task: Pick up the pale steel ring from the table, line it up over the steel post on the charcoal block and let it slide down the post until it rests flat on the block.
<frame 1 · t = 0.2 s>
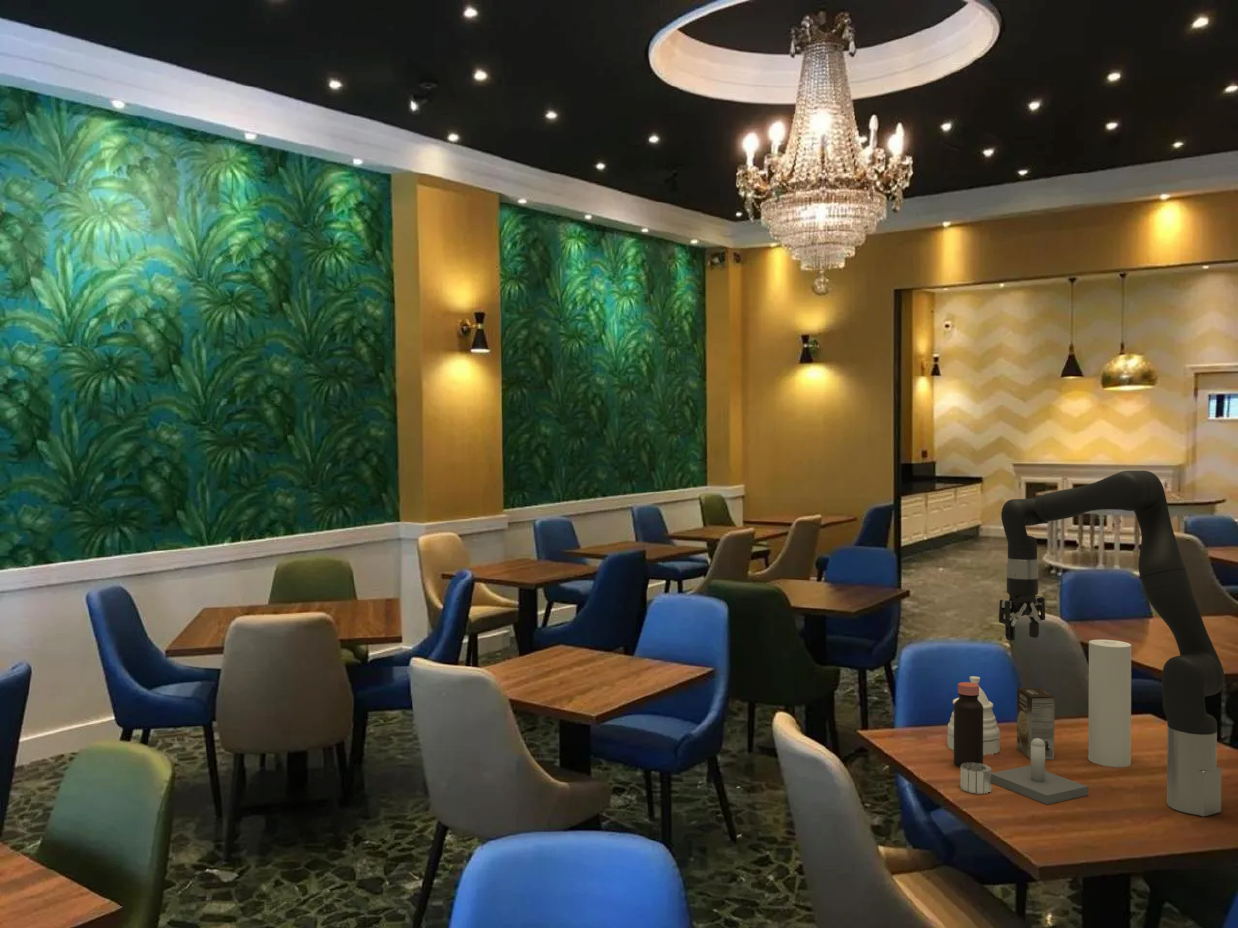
hand: (1022, 638, 246), 29 cm above the table, tool pointing down, fingers open, 8 cm apart
piston block: (1037, 788, 219), on the table
coffee box: (1035, 754, 243), on the table
honey pot: (973, 748, 249), on the table
ring: (975, 788, 218), on the table
bottle: (968, 765, 235), on the table
cylinder container: (1109, 761, 238), on the table
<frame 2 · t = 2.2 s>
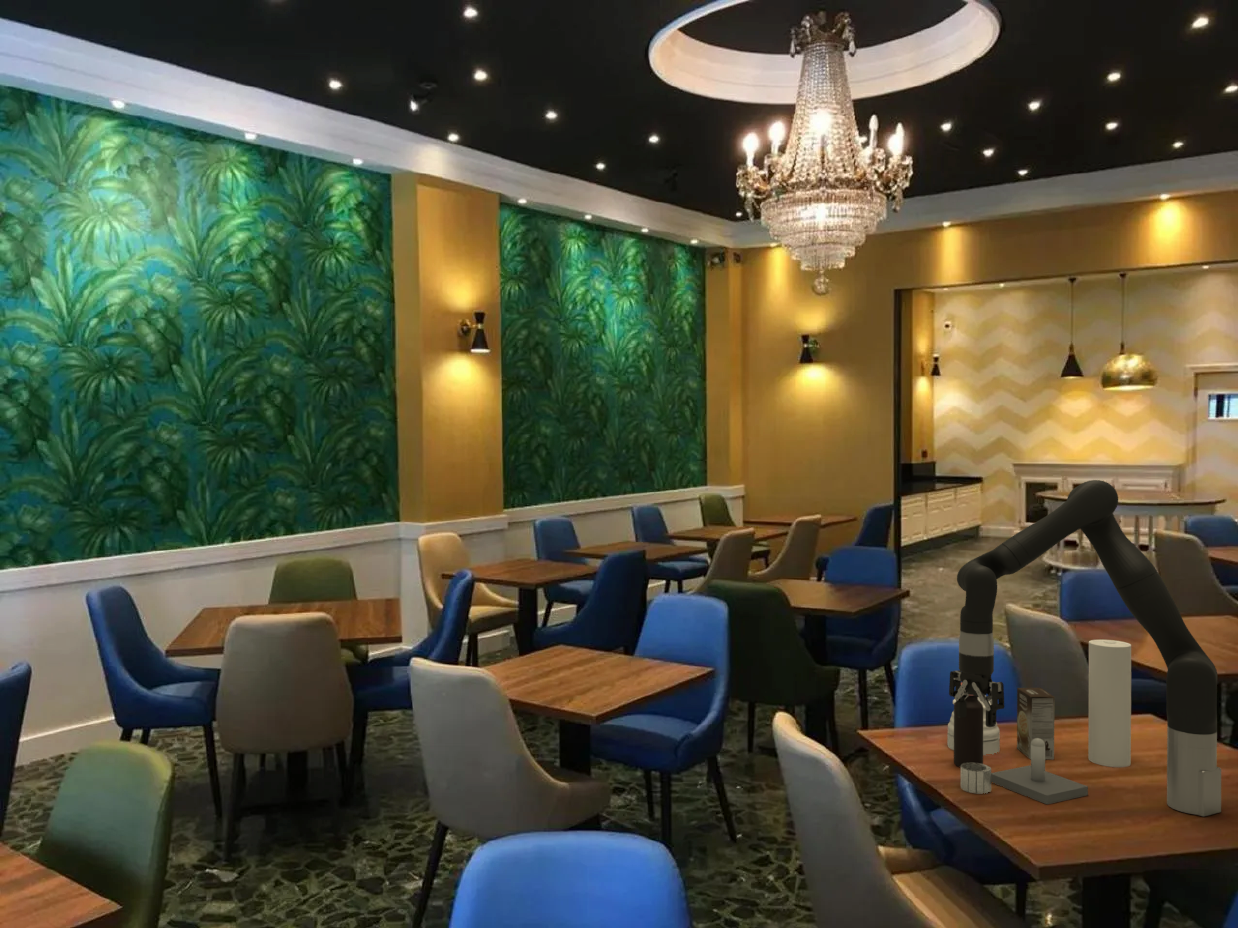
hand: (975, 721, 218), 15 cm above the table, tool pointing down, fingers open, 8 cm apart
nothing on the table moved.
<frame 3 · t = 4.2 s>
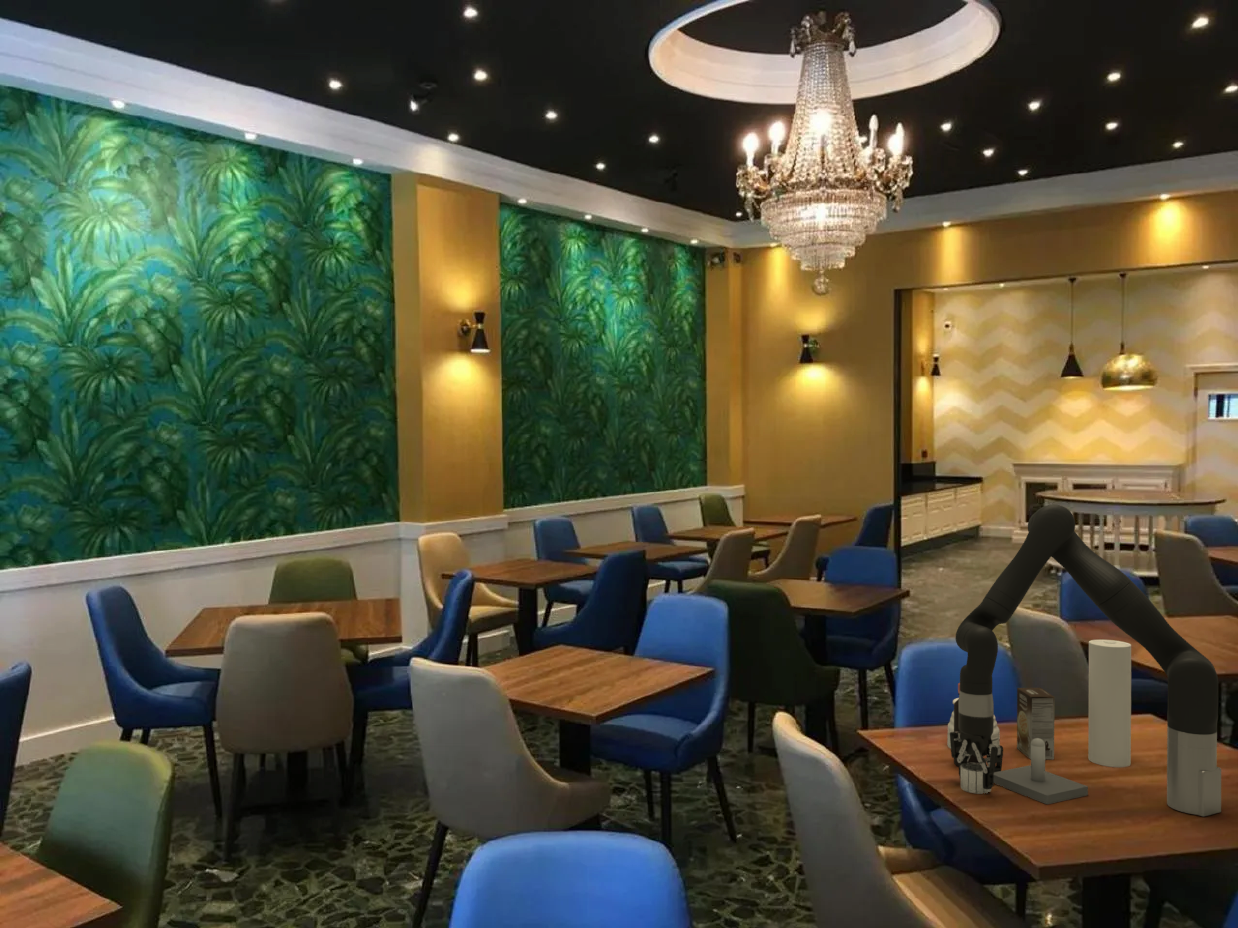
hand: (975, 783, 218), 1 cm above the table, tool pointing down, fingers closed on ring, 6 cm apart
ring: (975, 788, 218), on the table, touching gripper
everything else where it was.
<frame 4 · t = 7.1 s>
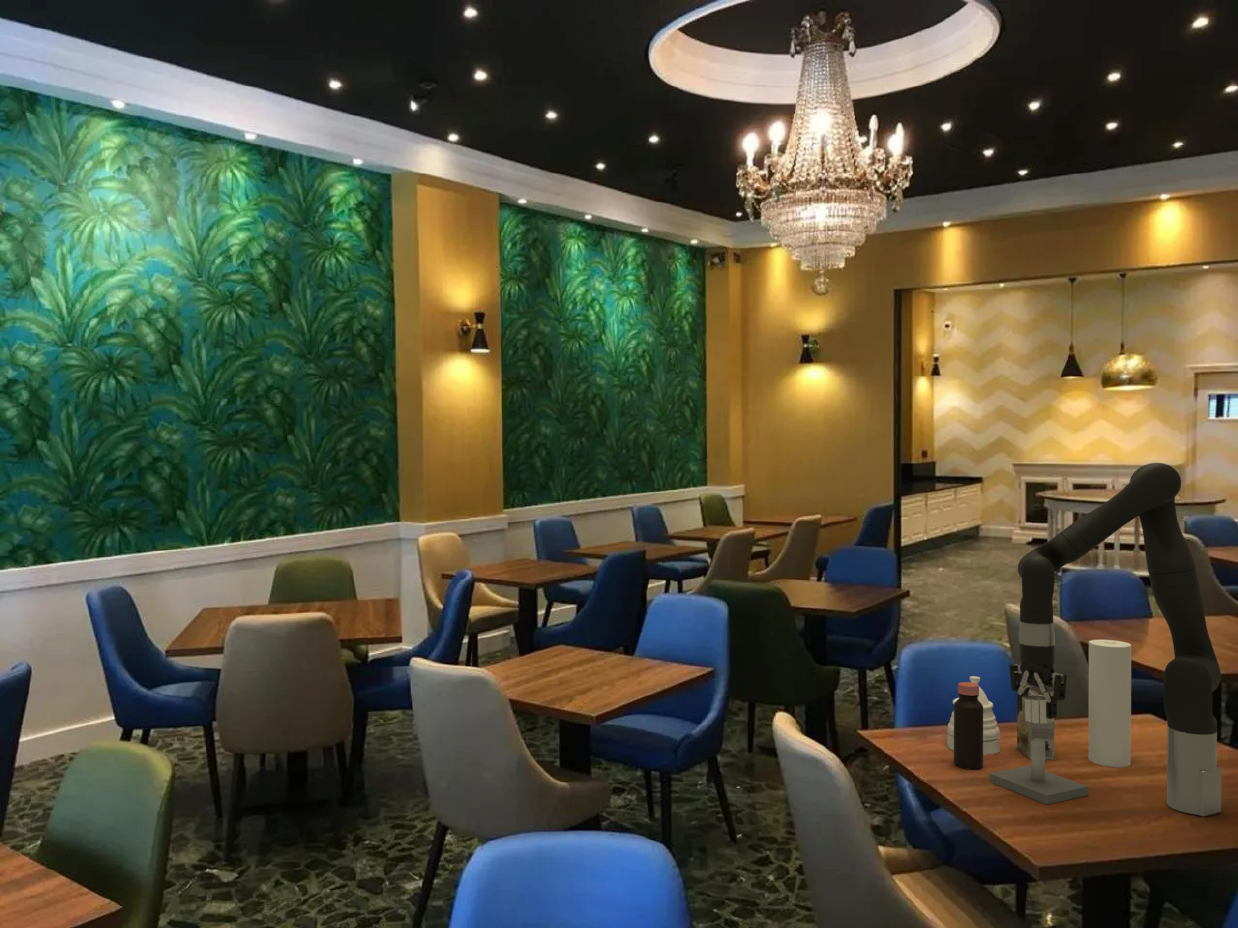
hand: (1037, 714, 218), 17 cm above the table, tool pointing down, fingers closed on ring, 6 cm apart
ring: (1038, 719, 218), point 16 cm above the table, touching gripper
everything else where it was.
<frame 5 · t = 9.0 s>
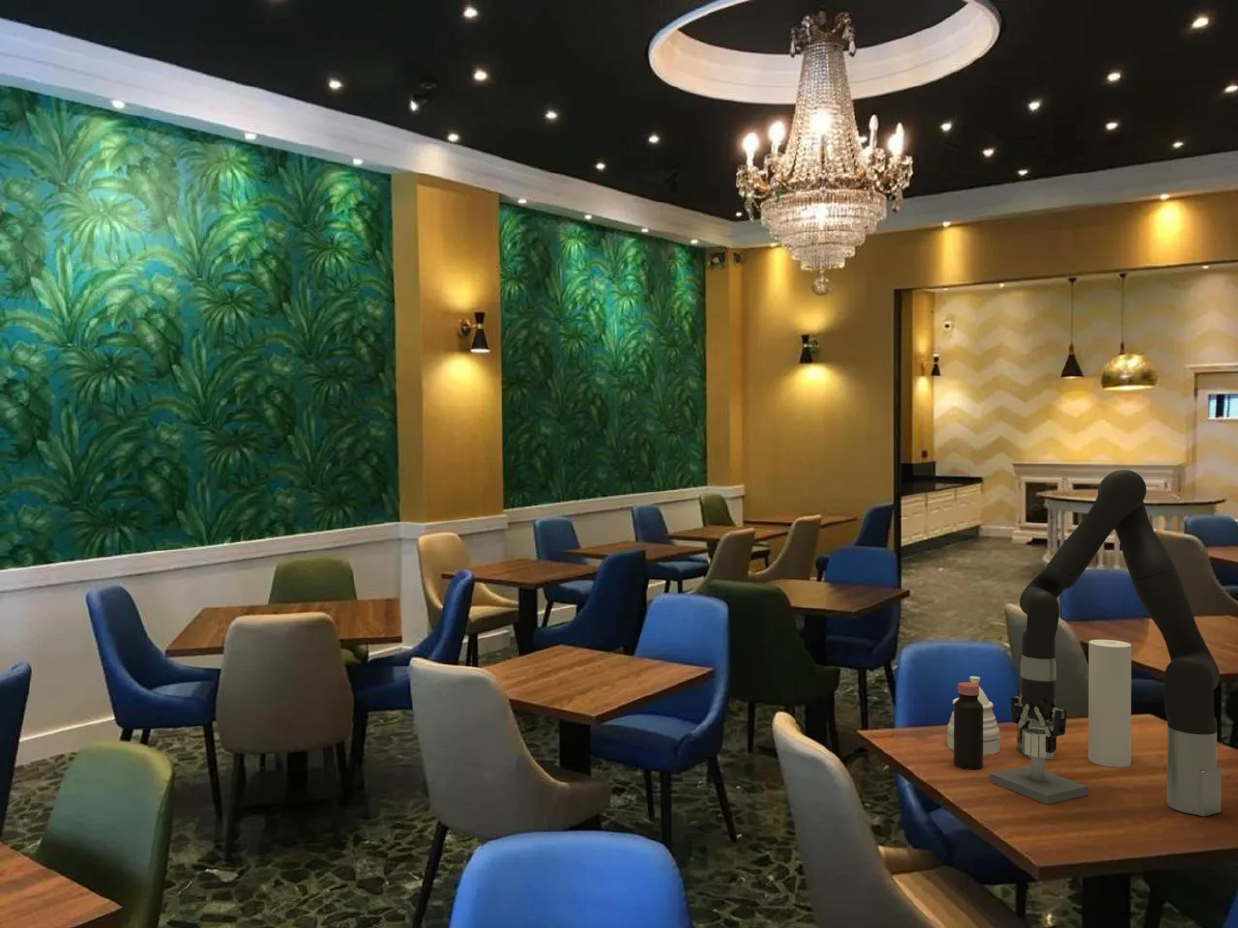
hand: (1037, 747, 219), 9 cm above the table, tool pointing down, fingers closed on ring, 6 cm apart
ring: (1037, 752, 219), point 8 cm above the table, touching gripper
everything else where it was.
when the fingers open (8 cm above the table, at t = 10.3 s): ring drops 4 cm, resting on piston block.
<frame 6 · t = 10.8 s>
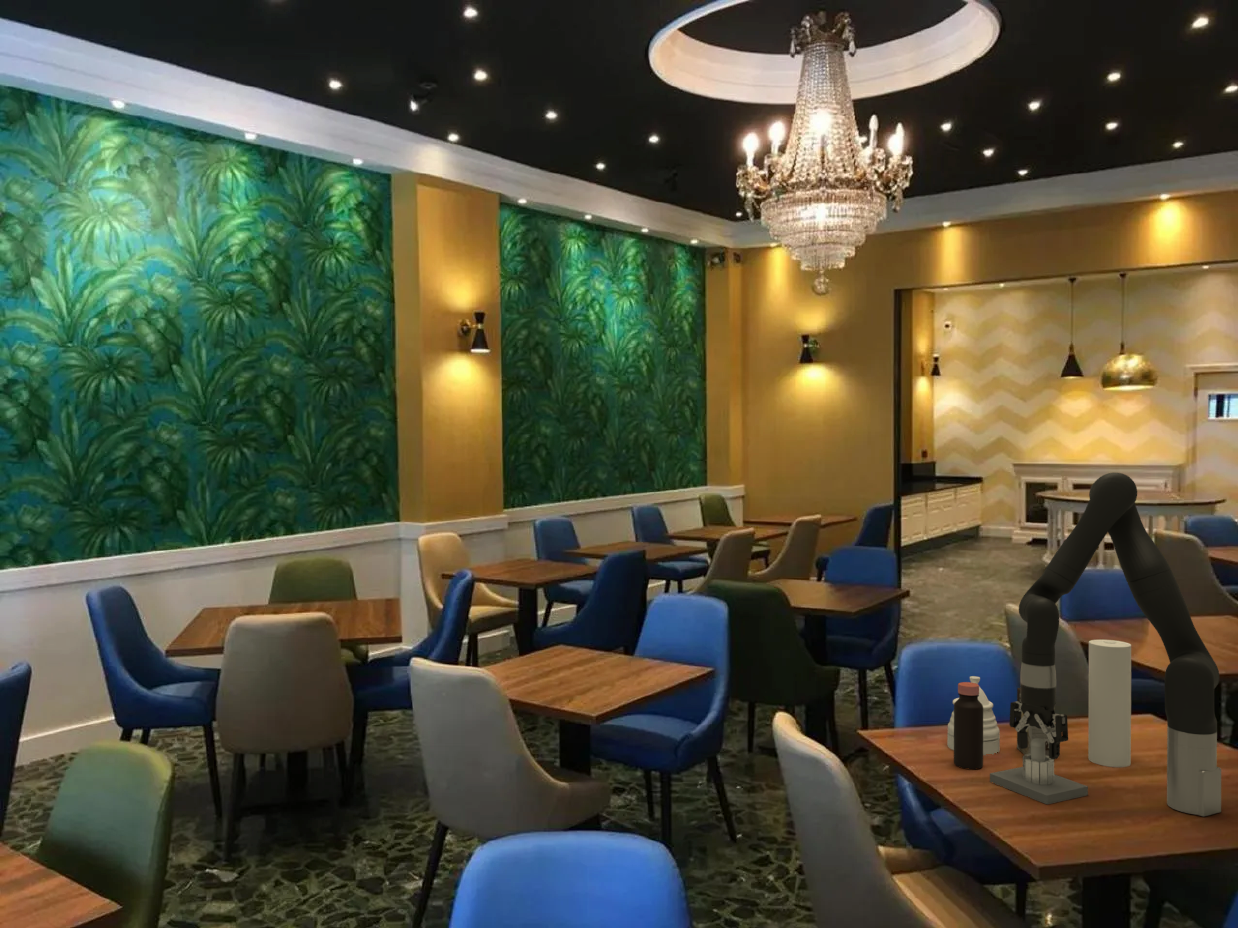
hand: (1037, 753, 219), 8 cm above the table, tool pointing down, fingers open, 8 cm apart
ring: (1038, 779, 219), point 2 cm above the table, touching piston block
everything else where it was.
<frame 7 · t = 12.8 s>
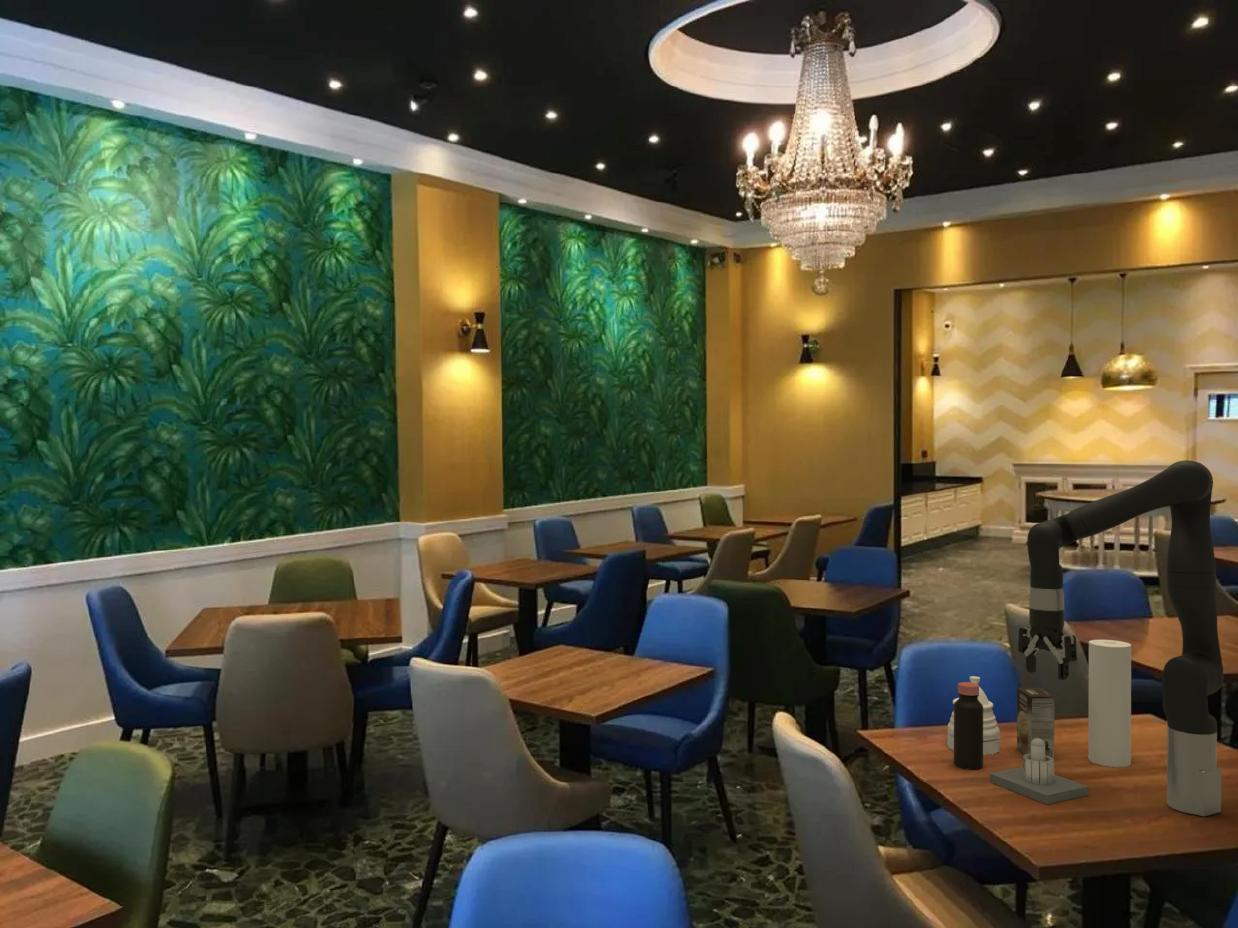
hand: (1046, 675, 224), 25 cm above the table, tool pointing down, fingers open, 8 cm apart
nothing on the table moved.
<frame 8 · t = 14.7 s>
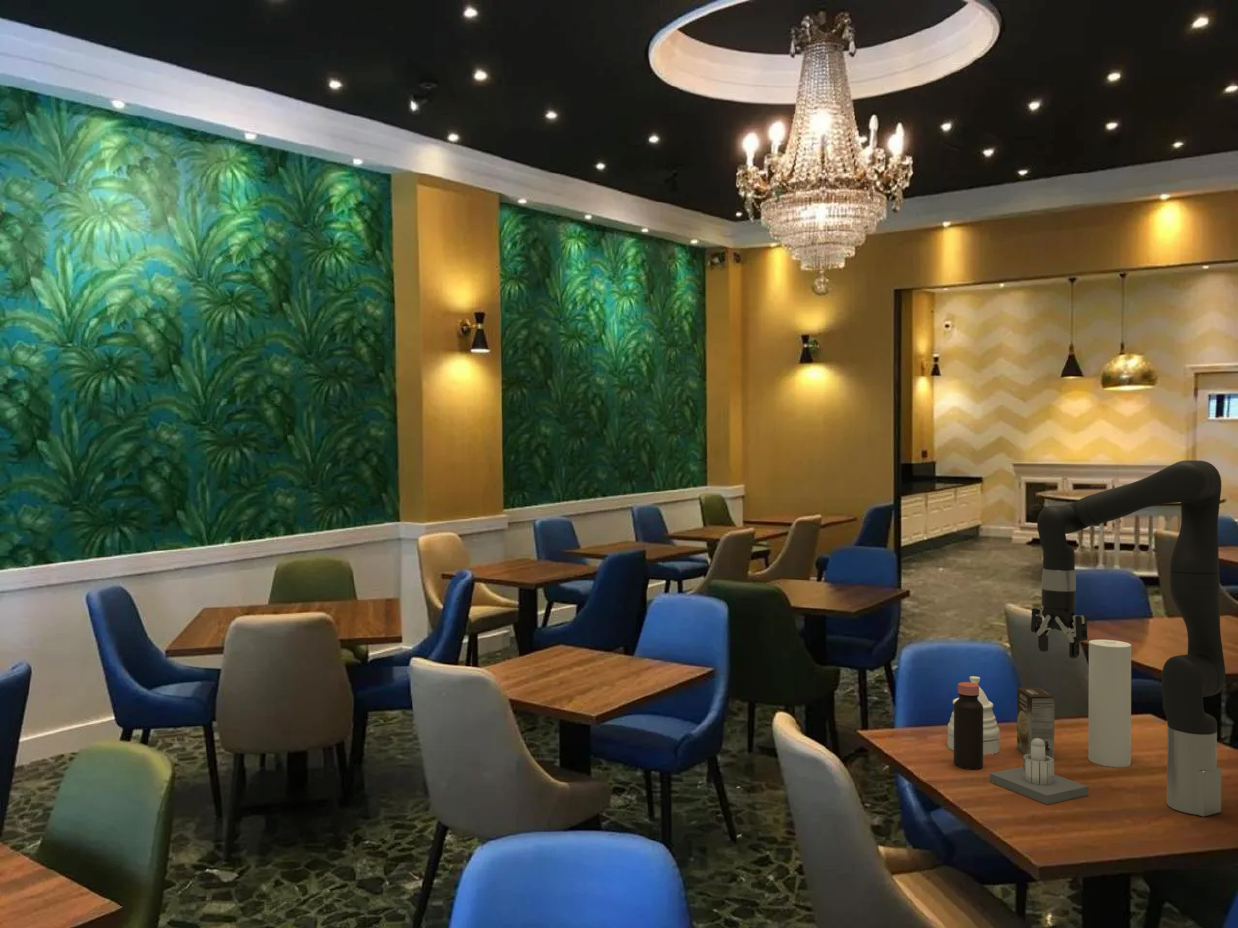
hand: (1058, 654, 231), 28 cm above the table, tool pointing down, fingers open, 8 cm apart
nothing on the table moved.
at the end: ring 0.1 cm off-centre on the piston block, point 2.0 cm above the piston block's base; ring tilted 0°; the gripper is holding nothing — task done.
